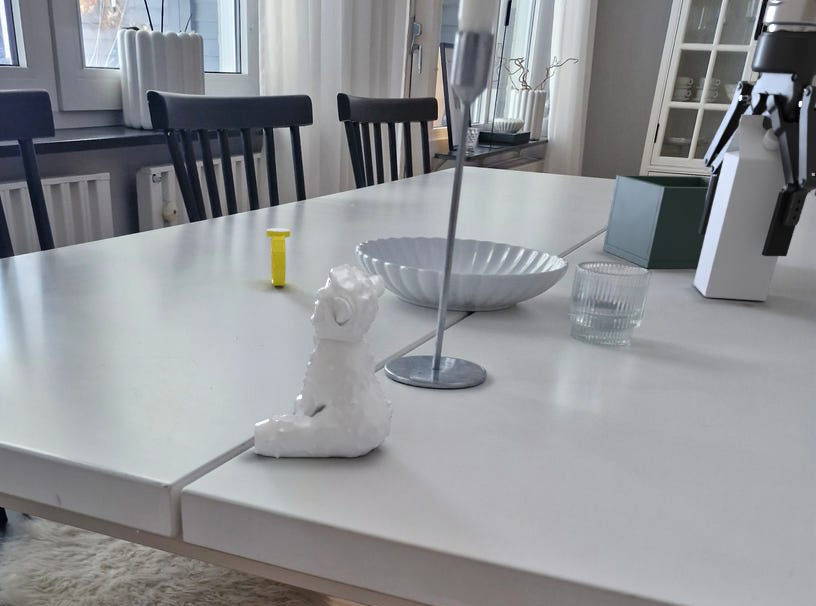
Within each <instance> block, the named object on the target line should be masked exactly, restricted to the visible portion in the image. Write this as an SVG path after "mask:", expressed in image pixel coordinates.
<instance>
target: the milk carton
mask: <svg viewBox="0 0 816 606" xmlns="http://www.w3.org/2000/svg"><path fill="white" fill-rule="evenodd" d="M763 119H764V115H744V114H742V115H741V119H740V124H739V126H738V128H737V130H736V132H735V134H734V136H733V138H732V140H731V142H730V144H729V146H728V148H727V150H726V152H725V156H724V160H723V164H722V168H721V172H720V176H719V181H718V185H717V189H716V193H715V197H714V201H713V205H712V210H711V214H710V218H709V222H708V226H707V230H706V234H705V238H704V243H703V247H702V251H701V255H700V259H699V263H698V267H697V269H696V272H695V276H694V280H693V286H694V287H695V288H696V289H697V290H698V291H699V292H700V293H701V294H702V295H703V296H704V297H705V298H713V299H714V298H715V299H731V300H745V301H761V302H762V301H763V302H764V301H766V299H767V297H768V293H769V289H770V286H771V282H772V278H773V275H774V272H775V269H776V265H777V261H778V259H779V256H763V255H762V251H763V248H764V244H765V241H766V237H767V234H768V230H769V227H770V223H771V220H772V216H773V213H774V209H775V206H776V202H777V199H778V195H779V192H781V190H780V189H782V188H783V187H784V186H785V185H786V184H785V178H784V172H783V166H782V160H781V154H780V147H779V141H778V137H777V136H775V135H774V133H773V129H772V128H771V129H769V130H766V129H765V128H763V126H762V123H763ZM794 123H795V122H794Z"/></svg>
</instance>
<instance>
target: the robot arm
mask: <svg viewBox="0 0 816 606" xmlns="http://www.w3.org/2000/svg"><path fill="white" fill-rule="evenodd" d="M762 23H763V25H764V26H767V27H766V28H767V29H766V31H762V32H761V33H760V35H758V36H757V37H758V38H757V42H756V46H755V50H754V53H753V57H752V60H751V65H750V68H751V69H750V70H751V71H752V72H754V73H758V76H757V79H756V81H755V80H740V81H738V83H737V85H736V87H735V90H734V94H733V98H732V100H731V103H730V105H729V107H728V108H727V111H726V113H725V115H724V117H723V119H722V121H721V123H720V125H719V127H718V129H717V131H716V133H715V135H714V137H713V139H712V141H711V143H710V145H709V147H708V149H707V152H705V155H704V157H703V160H702V166H703V167H704V168H708V173H709V174H710V178H711V179H710V183H709V187H708V191H707V195H706V202H705V206H704V210H703V215H702V219H701V223H700V227H699V231H698V234H701V235H705V234H706V230H707V226H708V222H709V218H710V214H711V210H712V205H713V201H714V197H715V193H716V189H717V185H718V181H719V176H720V172H721V168H722V164H723V160H724V156H725V152H726V150H727V148H728V146H729V144H730V142H731V140H732V138H733V136H734V134H735V132H736V130H737V128H738V126H739V124H740V119H741V115H742V114H744V115H764V119H763V123H762V126H763V128H765V129H766V130H769V129H771V128H772V129H773V133H774V135H775V136H777V137H778V141H779V147H780V154H781V160H782V166H783V172H784V178H785V184H786V185H785V186H784V187H783V188H782V189H780V190H781V192H779V195H778V199H777V202H776V206H775V209H774V213H773V216H772V220H771V223H770V227H769V230H768V234H767V237H766V241H765V244H764V248H763V251H762V255H763V256H778V257H787V256H788V252H789V249H790V246H791V242H792V239H793V235H794V233H795V229H796V227H797V225H798V224H799V222H800V219H801V216H802V213H803V209H804V206H805V202H806V199H807V196H808V194H810V193H811V192H812V191H814V190H816V85H813V82H814V78H815V76H816V0H768V1H767V3H766V8H765V12H764V16H763V19H762ZM794 122H795V123H794ZM813 174H814V175H813Z"/></svg>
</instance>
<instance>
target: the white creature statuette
mask: <svg viewBox="0 0 816 606" xmlns="http://www.w3.org/2000/svg"><path fill="white" fill-rule="evenodd" d="M327 276H328V278H327V281H326V284H325V286H324V287H321V288H319V289H317V291H316V292H315V294H316V297H317V301H315V303H314V305H315V307H314V308H313V314H312V315H311V317H310V322H311V325H312V326H313V327H314V332H315V335H314V336H313V338H312V341H313V345H314V346H313V347H314V350H313V351H312V352H311V353H310V356H309V359H308V363H307V365H306V370H305V373H304V374H305V378H304V379H303V383H302V384H303V385H302V389H301V390H300V395H299V396H297V397H296V398H295V401H294V403H293V411H294V413H291V412H290V413H287V414H284V415H277V414H271V415H270V416H269V418H268V419H266V420H262V421H260V422H258V423H255V424H254V430H253V431H254V433H253V434H254V436H253V437H254V442H253V443H254V454H255V455H261V456H265V457H274V458H276V459H279V458H283V457H285V458H330V457H334V458H357V457H360V456H364V455H366V454H369V453H370V452H371V451H372V450H373V449H376V448H377V447H379V446H380V445H382V444H383V443H385V439H386V438H387V437H389V435H390V434H391V422H392V417H393V416H392V414H393V412H394V410H393V408H392V407H391V405H392V401H391V400H390V399H388V398H387V397H386V394H385V391H384V390H383V389H382V387H381V385H380V382H379V380H378V378H377V376H376V368H377V363H376V362H375V354H374V352H373V350H372V349H371V344H370V343H369V342H368V341H367V339H366V338H365V337H364V335H366V334H367V333H368V331H369V329H370V328H371V326H372V324H373V323H374V322H375V320H376V317H377V314H378V311H379V298H381V297H382V296H383V295H384V293H385V291H386V285H385V279H384V277H383V276H382V275H381V274H374V275H371V276H369V274H368V273H366V272H364V271H362V270H360V269H359V268H358V267H357V266H355V265H353V266H351V265H350V264H349V263H344V264H343V265H341V266H336V267H333V268H331V270H330V272H329V273H328V275H327Z"/></svg>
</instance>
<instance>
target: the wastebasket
mask: <svg viewBox="0 0 816 606" xmlns="http://www.w3.org/2000/svg"><path fill="white" fill-rule="evenodd" d="M710 179H711V177H706V176H698V175H697V176H696V175H695V176H693V175H692V176H691V175H690V176H689V175H687V176H686V175H645V174H644V175H639V174H636V175H635V174H616V176H615V182H614V187H613V188H614V189H613V193H612V198H611V205H610V209H609V215H608V219H607V226H606V231H605V236H604V240H603V241H604V242H603V247H602V251H604V252H606V253H609V254H612V255H614V256H616V257H619V258H621V259H623V260H626V261H628V262H630V263H632V264H635V265H637V266H639V267H642V268H645V269H647V268H648V269H647V270H649V269H650V270H651V269H652V270H655V269H656V270H658V269H659V270H665V269H667V270H668V269H673V270H675V269H677V270H678V269H681V270H682V269H689V270H690V269H693V270H695V269H696V270H697V267H698V263H699V259H700V255H701V251H702V247H703V243H704V238H705V235H701V234H698V231H699V227H700V223H701V219H702V215H703V210H704V206H705V202H706V195H707V191H708V187H709V183H710Z"/></svg>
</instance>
